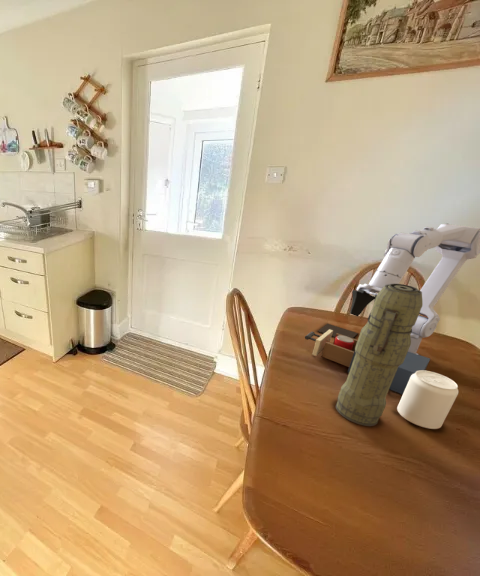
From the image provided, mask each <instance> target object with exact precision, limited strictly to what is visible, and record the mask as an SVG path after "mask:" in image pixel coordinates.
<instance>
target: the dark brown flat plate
mask: <svg viewBox="0 0 480 576" xmlns="http://www.w3.org/2000/svg"><path fill="white" fill-rule="evenodd" d="M329 329H330V330H333V333H332V337H331V338H334V339H335V336H336V334H337V333H338V334H341V335H344V336H347V337H350V338H353V339H355V337H357V335H358V334H359V332H355V331H352V330H350V329H347V328H343V327H340V326H337V325H333V324H331V323H326V324H325V325H324V326H322V327H321V328H320V329H318V330H317V333H319V334H321V335H323V334H324V333H325V332H327V331H328V330H329Z"/></svg>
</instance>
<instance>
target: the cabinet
mask: <svg viewBox="0 0 480 576" xmlns="http://www.w3.org/2000/svg"><path fill="white" fill-rule="evenodd" d="M355 354H356V352H355V351H354V354H353V357H352V360H351V363H350V366H349V367H348V369H347V373H348V374H349V372H350V369H351V366H352V363H353V360H354V357H355ZM418 354H419V353H417V354H414V353H411V352H407V355H406V357H405V359H404V362H403V364H401V365H400V366H398V369H397V371H396V374H395V376H394V378H393V381H392V383H391V386H390V388H389V391H390V390H391V391H393V392H396V393H397V394H400V395H403V393H404V391H405V388H406V386H407V384H408V381H409V379H410V377H411V375H412V374H414V373H415V372H416V371H419V370H425V371H427V368H428V365H429V362H430V361H431V358H429V357H427V356H424V355H421V354H419V355H418Z"/></svg>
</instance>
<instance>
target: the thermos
mask: <svg viewBox="0 0 480 576" xmlns="http://www.w3.org/2000/svg"><path fill="white" fill-rule="evenodd" d="M420 290H421V289H418V288H417V287H414V286H411V285H407V284H403V283H399V284H388V285H385V286H384V287H383V288H382V289H381V291H380V292H379V293H377V296H376V299H374V301H375V302H373V305H372V308H371V310H372V311H370V312H371V313H369V314H370V315H371V317H370V319H368V318H367V322H366V324H365V325H363V327H362V328H361V329H360V332H359V335H358V338H357V340H358V341H357V344H356V347H355V352H356V354H355V357H354V360H353V363H352V366H351V369H350V372H349V373H348V375H347V378H346V380H345V382H344V383H343V384H342V385H341V387H340V389H339V392H338V395H337V402H336V404H335V409H336V411H337V413H338V414H340V415H341V416H342V417H343V418H344V419H346V420H348V421H350V422H352V423H354V424H356V425H361V426H365V427H374V426H376V425H378V423H379V419H380V417H382V416H383V413H384V411H385V408H386V405H387V399H386V398H387V395H388V393H389V391H390V389H389V388H390V386H391V383H392V381H393V378H394V376H395V374H396V371H397V369H398V366H400V365H401V364H403V362H404V359H405V357H406V355H407V352H408V350H409V347H410V345H411V336H410V335H411V332H412V327H413V326H414V325H415V323H416V320H417V318H418V315H420V314H419V313H420V310H421V308H422V292H421V291H420Z"/></svg>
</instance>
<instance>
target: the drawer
mask: <svg viewBox="0 0 480 576" xmlns="http://www.w3.org/2000/svg"><path fill="white" fill-rule="evenodd" d="M332 333H333V330H330V329H329V330H328V331H327V332H325V333H324V334H321V335H320V334H317V333H316V332H314V331H310V332H309V333H308V334H306V335H305V336H304V339H305V340H310V341H313V342H315V343H314V346H313V349H312V353H311V355H312V356H315V357H317V356H318V355H319V354H320V353H321V352H322V354H321V358H324V359H326V360H329V361H332V362H335V363H338V364H339V365H342V366H344V367H348V368H349V366H350V363H351V360H352V357H353V354H354V351H355V347H356V344H357V341H358V339H356V338H351V339H353V340H354V344H353V347H352V350H348V349H345V348H342V347H340V346H337V345H334V341H335V338H336V336H339V335H341V334H338V333H337V334H336V336H335V338H334V340H333V342H332V343H331V340H332V338H333V337H332ZM342 336H344V335H342ZM314 337H317V338H314Z"/></svg>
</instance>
